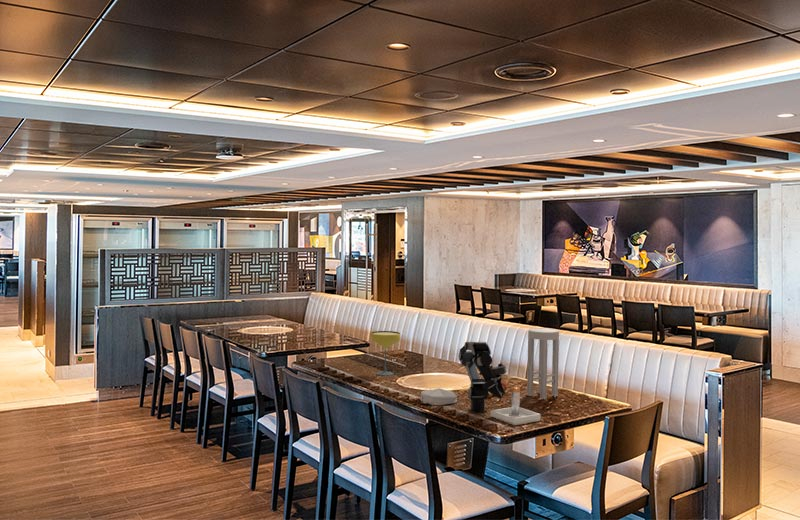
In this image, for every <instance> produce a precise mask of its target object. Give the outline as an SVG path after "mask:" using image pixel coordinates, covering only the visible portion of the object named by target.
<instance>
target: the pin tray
mask: <svg viewBox="0 0 800 520" xmlns="http://www.w3.org/2000/svg"><path fill="white" fill-rule="evenodd" d="M510 413H511V407H509V406H508V407H505V408H498V409H492V410H491V409H490V418H492V417H494V418H493V419H495V418H496V420H498V419H499V420H498V421H501V422H503V421H504V423H506V424H509V425H511V424H512V426H518V425H519V426H520V425H523V424H524V425H525V424H529V423H534V422H540V421H541V417H542V416H541V415H542V414H541V413H538V412H536V411H532V410H529V409H527V408H524V407H520V406H519V414H521V415H522V417H517V418H513V417H510V416H509V414H510Z"/></svg>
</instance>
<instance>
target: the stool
mask: <svg viewBox="0 0 800 520" xmlns="http://www.w3.org/2000/svg"><path fill="white" fill-rule="evenodd" d="M535 340H538V341H539V343H538V345H539V347H538V348H539V349H538V350H539V352H538V370H536V371H535V369H534V368H535V367H534V364H535V363H534V362H535V360H534V359H535ZM549 341H552V357H551V359H552V360H551V362H552V363H551V366H552V367H551V373H548V346H549V345H548V342H549ZM559 347H560V331H559V330H558V329H553V328H530V329H528V333H527V372H526V374H527V375H526V377H527V380H526V395H527V396H528V397H532V396H534V381H536V380H538V389H537V392H538V394H540V395H539V399H540V398H541V399H540V400H543V399H544V400H547V389H548V387H547V386H548V385H547V384H549V383H551V397H552V396H554V397H553V398H557V397H556V396H558V395H559V363H560V362H559V359H560V358H559V355H560V354H559V351H560V348H559ZM537 374H538V376H534V375H537ZM549 377H551V379H547V378H549ZM558 397H559V396H558Z"/></svg>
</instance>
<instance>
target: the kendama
mask: <svg viewBox="0 0 800 520" xmlns="http://www.w3.org/2000/svg"><path fill="white" fill-rule="evenodd" d="M501 382H502V385H503V388H504V391H505V392H506V391H507V384H506V383H505V382H504V381H501ZM499 392H500V391H499ZM500 394H501V396H503V395H502V393H501V392H500ZM492 396H494V395H493V394H492V393H490V392H488V397H489V398H488V399H490V398H491V397H492Z"/></svg>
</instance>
